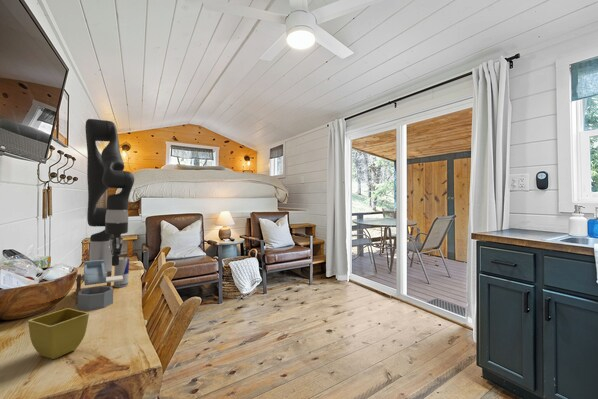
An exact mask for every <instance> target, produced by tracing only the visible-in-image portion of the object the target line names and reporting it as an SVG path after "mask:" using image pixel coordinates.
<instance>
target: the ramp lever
mask: <svg viewBox="0 0 598 399" xmlns="http://www.w3.org/2000/svg"><path fill="white" fill-rule="evenodd" d="M83 265H84V266H83V274H82V273H81V279H82V278H84V279H83V282H84V286H92V285H99V284H107V283H108V282H111V283H114V282H116V281H123V276H122V275H120V276H114V275H113V276H112V275H111V277H106V272H105V268H104V260H94V261H89V260H85V261H84V264H83Z"/></svg>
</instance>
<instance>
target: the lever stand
mask: <svg viewBox="0 0 598 399" xmlns="http://www.w3.org/2000/svg"><path fill="white" fill-rule="evenodd" d="M107 277H112V275H111V271H107ZM81 285H82V273H77V274H76V289H75V305H78V291H81V290H84V289H87V288H91V287H92V286H88V287H82V286H81ZM99 286H100V285H97V286H94V287H99ZM102 286H109V287H112V282H108V283H106V284H104V285H102ZM81 287H82V288H81Z"/></svg>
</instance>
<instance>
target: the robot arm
mask: <svg viewBox="0 0 598 399" xmlns="http://www.w3.org/2000/svg"><path fill="white" fill-rule="evenodd" d="M84 127H85V140H86V141H85V142H86V151H87V164H86V166H87V167H86V168H87V170H86V171H87V173H86V174H87V176H86V178H87V179H86V180H87V194H88V195H87V197H88V198H87V199H88V200H87V211H86V212H87V213H86V214H87V217H86V219H87V225H88V226H89V227H95V228H97V227H100V228H101V227H104V229H103V230H102V231H99V232H96V233H93V234H91V235H90V237H89V239H90V240H89V260H88V261H94V260H104V268H105V272H106V277H107V271H111V276H112V275H113V267H115V266H117V265H119V258H120V257H121V254H122V253H121V252H122V249H123V248H122V247H123V241H124V238H123V237H122V235H123V234H125V235H126V234H127V233H128V232H129V199H130V196H131V191H132V188H133V186H134V183H135V176H134V174H133V173H132V172H131V171H128V170H125V162H124V160H123V158H122V154H121V150H120V141H119V136H118V135H119V134H118V130H117V126H116V124H115V123H114V122H113V121H111V120H104V119H95V118H88V119H86V121H85V126H84ZM96 142H108V144H107V145H106V146H105V147H104V148H103V150H102V151H101V153H100V151H99V149H98V147H97V143H96ZM108 189H121V190H120V192H119V193H114V194H108V196H107V198H106V207H97V204H98V202H99V201H100V199H101V198H102V196H103V195H104V194H105V193H106V192H107V190H108Z"/></svg>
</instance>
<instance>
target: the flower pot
mask: <svg viewBox="0 0 598 399" xmlns="http://www.w3.org/2000/svg"><path fill="white" fill-rule="evenodd" d="M89 316H90V313H89V312H86V311H84V310H83V311H82V310H79V309H73V308H68V307H65V308H64V309H60V310H57V311H54V312H51V313H47V314H44V315H41V316H37V317H34V318H30V319H28V320H27V324H28V325H27V326H28V331H29V337H30V341H31V345H32V346H33V348H34V350H35V351H36V352H37V353H38V354H39V355H40V356H42V357H45V358H48V359H52V360H54V359H55V360H56V359H57V358H60V357H62V356H64V355H66V354H68V353H71V352H73V351H76V349H77V348H78V347H79V346H80V344H81V343H82V342H83V340H84V338H85V336H86V332H87V327H88V322H89Z"/></svg>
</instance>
